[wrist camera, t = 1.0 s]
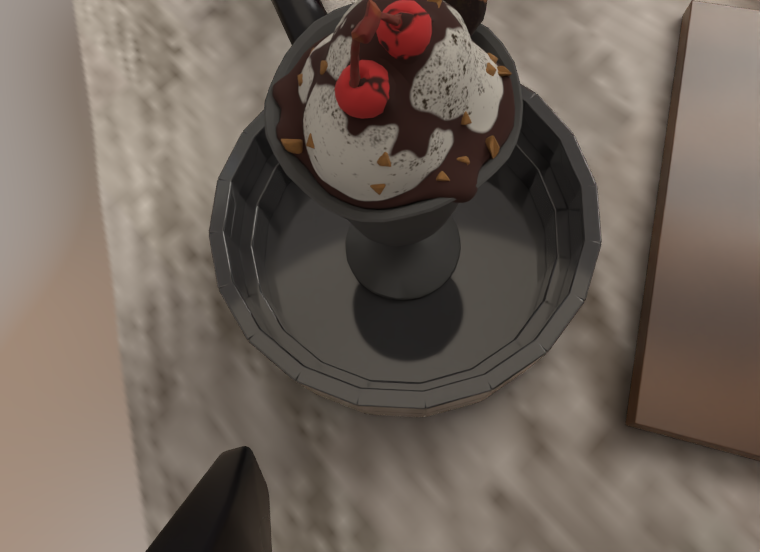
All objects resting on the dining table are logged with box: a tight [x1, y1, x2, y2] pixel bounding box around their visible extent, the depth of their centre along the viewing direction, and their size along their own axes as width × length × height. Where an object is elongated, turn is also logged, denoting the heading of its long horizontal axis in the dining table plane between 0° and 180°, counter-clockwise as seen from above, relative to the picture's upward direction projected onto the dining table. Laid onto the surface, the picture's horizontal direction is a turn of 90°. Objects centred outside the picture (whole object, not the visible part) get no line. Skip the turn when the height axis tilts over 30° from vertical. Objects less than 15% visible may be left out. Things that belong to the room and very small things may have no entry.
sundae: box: [264, 0, 523, 300], centre depth 16 cm, size 7×7×15 cm
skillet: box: [209, 84, 602, 417], centre depth 22 cm, size 14×14×4 cm
